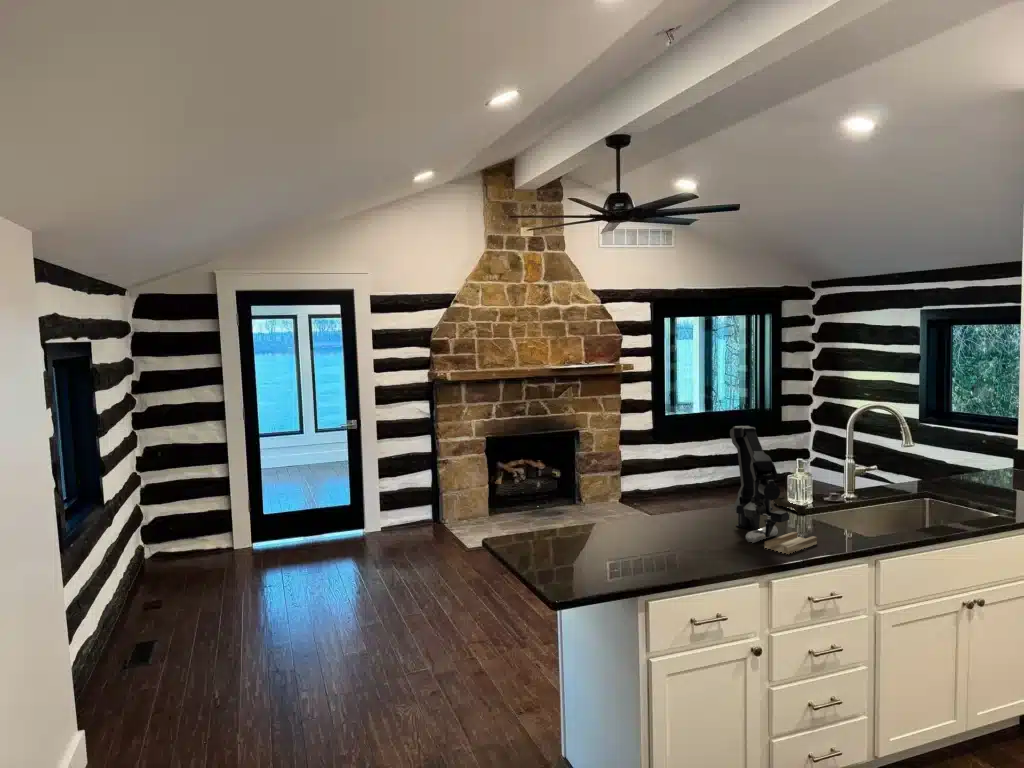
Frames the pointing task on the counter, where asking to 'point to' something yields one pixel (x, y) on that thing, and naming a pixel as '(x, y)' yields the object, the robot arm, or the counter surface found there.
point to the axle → (760, 534)
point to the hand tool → (789, 504)
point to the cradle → (790, 543)
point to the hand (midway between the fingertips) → (762, 535)
